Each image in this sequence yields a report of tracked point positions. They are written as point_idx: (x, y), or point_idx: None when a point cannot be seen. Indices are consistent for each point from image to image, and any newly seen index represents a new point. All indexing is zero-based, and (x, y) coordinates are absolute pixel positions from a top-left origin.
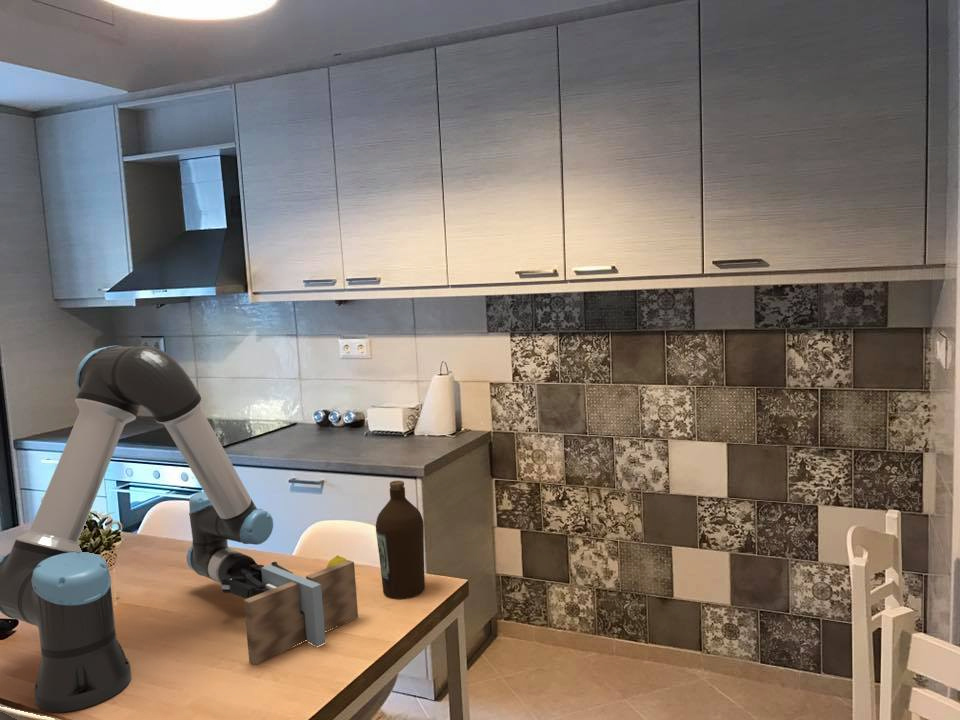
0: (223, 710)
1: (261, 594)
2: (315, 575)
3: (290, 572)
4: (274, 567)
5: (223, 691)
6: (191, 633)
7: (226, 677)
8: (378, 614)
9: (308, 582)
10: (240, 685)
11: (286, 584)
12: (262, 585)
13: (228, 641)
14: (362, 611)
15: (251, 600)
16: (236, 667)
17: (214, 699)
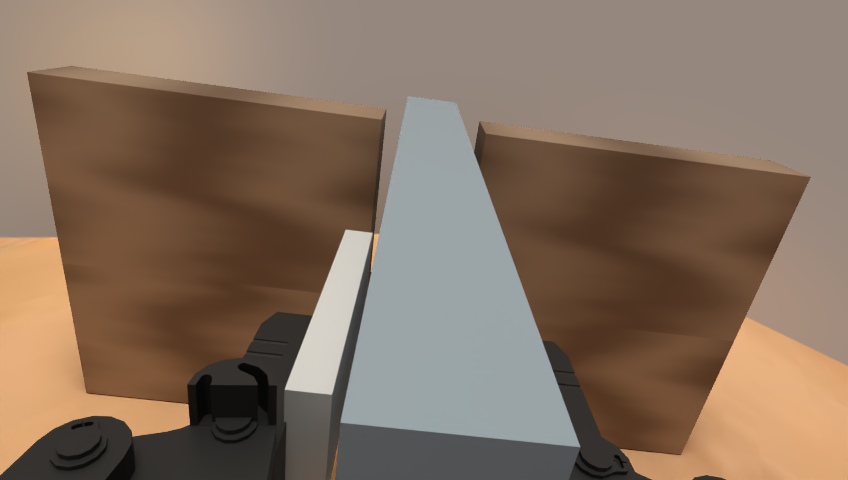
0: (769, 330)
1: (698, 158)
2: (344, 105)
3: (52, 452)
4: (393, 286)
5: (781, 384)
6: None
7: (781, 437)
8: (65, 322)
9: (429, 110)
10: (722, 370)
11: (531, 137)
12: (586, 444)
13: None
14: (26, 381)
15: (759, 161)
16: (740, 463)
17: (807, 374)
